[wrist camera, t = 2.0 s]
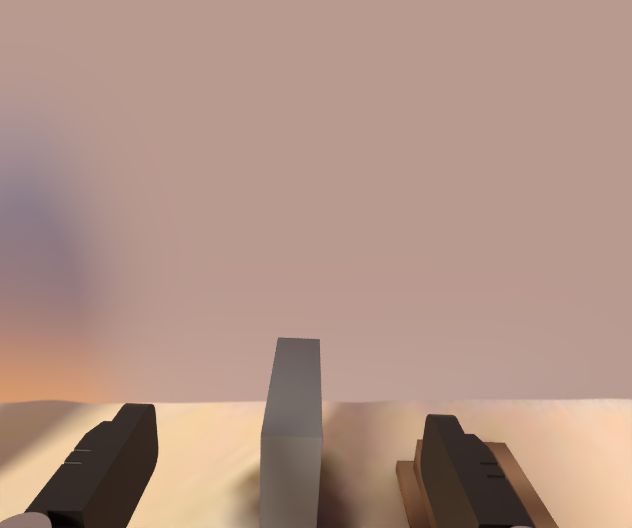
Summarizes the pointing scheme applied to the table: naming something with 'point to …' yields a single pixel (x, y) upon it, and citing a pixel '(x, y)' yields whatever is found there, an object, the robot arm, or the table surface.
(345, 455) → the table surface
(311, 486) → the grey upright flat block
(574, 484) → the table surface
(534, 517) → the rack
